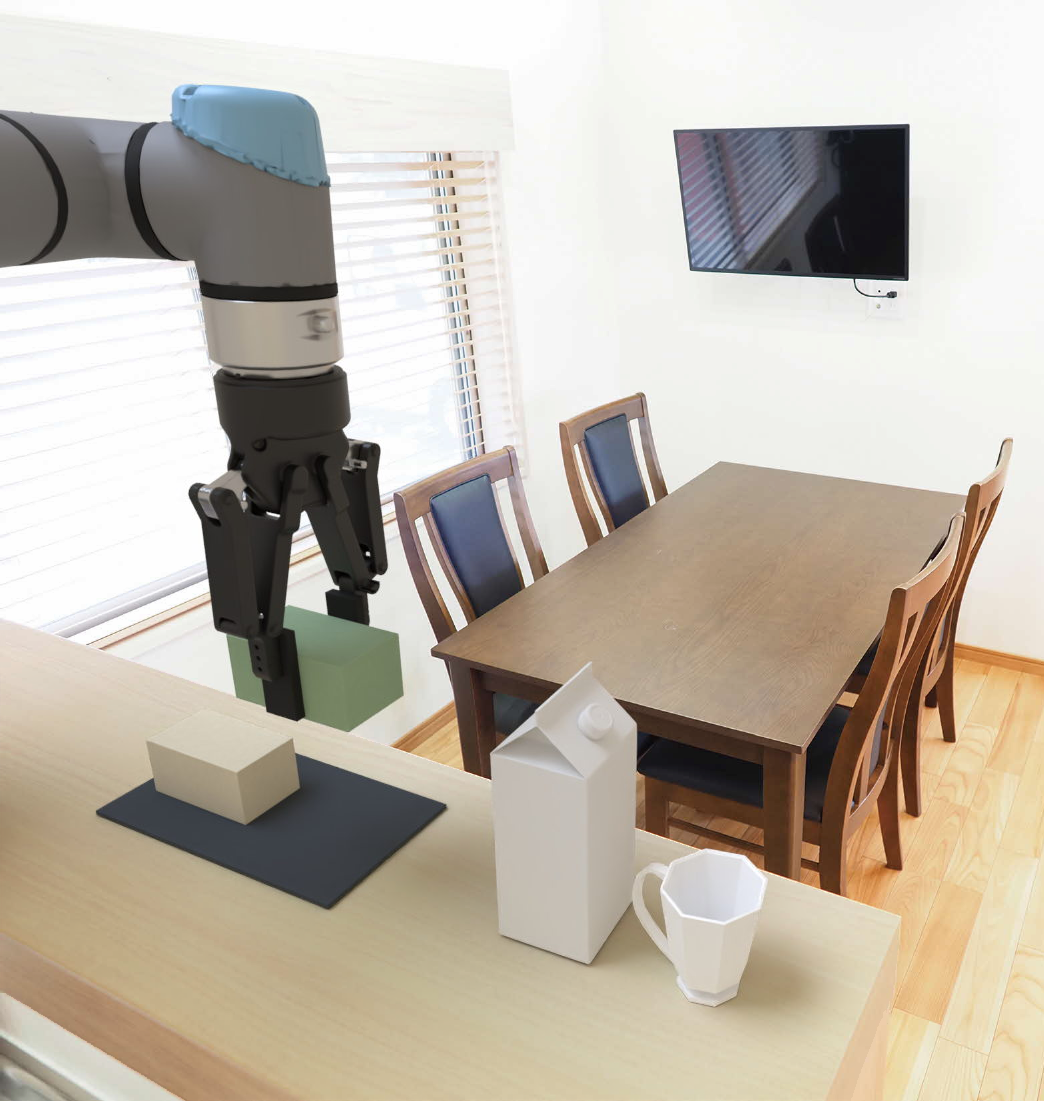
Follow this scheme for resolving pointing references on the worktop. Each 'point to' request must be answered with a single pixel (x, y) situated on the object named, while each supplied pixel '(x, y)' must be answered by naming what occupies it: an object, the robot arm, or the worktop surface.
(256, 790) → the cream block
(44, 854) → the worktop surface
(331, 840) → the mat
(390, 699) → the green block
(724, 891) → the cup
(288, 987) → the worktop surface
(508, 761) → the milk carton
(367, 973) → the worktop surface
